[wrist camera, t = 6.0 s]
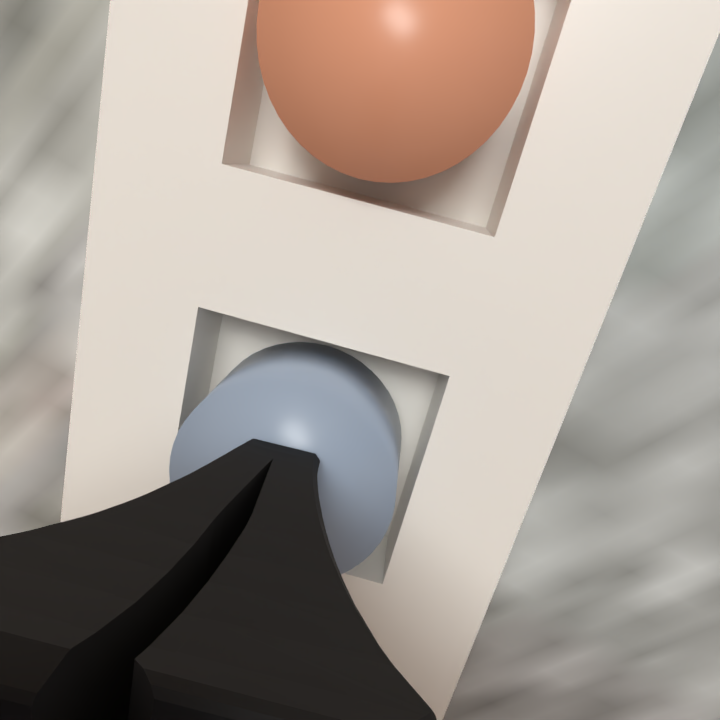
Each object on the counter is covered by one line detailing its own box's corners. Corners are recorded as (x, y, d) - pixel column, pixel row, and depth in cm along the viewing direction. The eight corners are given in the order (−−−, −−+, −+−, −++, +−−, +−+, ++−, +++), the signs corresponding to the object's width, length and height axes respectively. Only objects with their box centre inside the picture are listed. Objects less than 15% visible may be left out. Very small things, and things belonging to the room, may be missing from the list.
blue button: (424, 372, 13) (423, 416, 10) (374, 538, 14) (362, 609, 12) (229, 318, 13) (187, 350, 11) (198, 489, 14) (155, 549, 12)
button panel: (712, -88, 11) (799, -167, 9) (386, 778, 19) (379, 876, 16) (208, -215, 11) (141, -330, 9) (90, 690, 19) (36, 773, 17)
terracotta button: (546, -36, 11) (577, -90, 9) (473, 204, 12) (483, 212, 10) (316, -95, 11) (286, -164, 9) (270, 149, 12) (234, 145, 10)
